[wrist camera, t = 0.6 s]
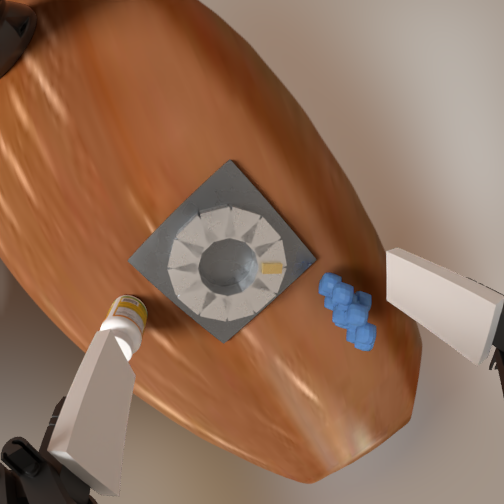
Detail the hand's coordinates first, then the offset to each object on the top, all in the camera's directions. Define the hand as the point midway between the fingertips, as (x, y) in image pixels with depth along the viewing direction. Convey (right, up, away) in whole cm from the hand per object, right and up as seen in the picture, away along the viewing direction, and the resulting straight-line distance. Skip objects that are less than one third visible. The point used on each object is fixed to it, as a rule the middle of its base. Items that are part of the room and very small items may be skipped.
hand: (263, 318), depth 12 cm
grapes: (+12, -3, +30) cm, 33 cm away
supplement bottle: (-18, -5, +24) cm, 30 cm away
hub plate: (-4, +2, +25) cm, 25 cm away
